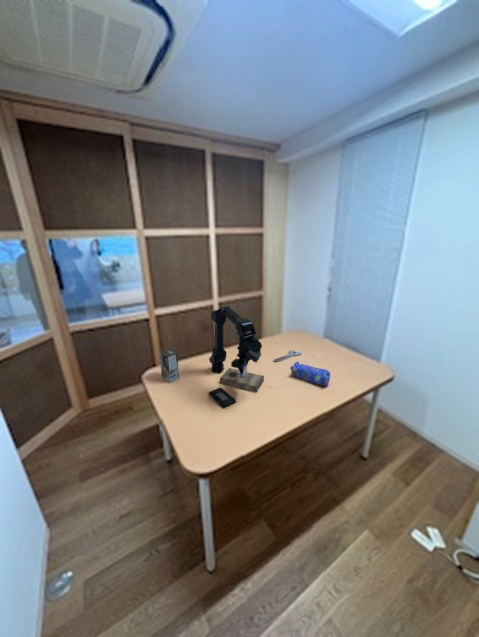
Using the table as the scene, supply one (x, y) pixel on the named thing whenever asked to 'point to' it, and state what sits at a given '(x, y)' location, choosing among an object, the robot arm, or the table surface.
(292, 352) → the adjustable wrench
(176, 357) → the coffee box
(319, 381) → the pencil case
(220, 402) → the vhs tape
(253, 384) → the hitch block
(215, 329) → the robot arm
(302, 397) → the table surface
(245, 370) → the steel peg
